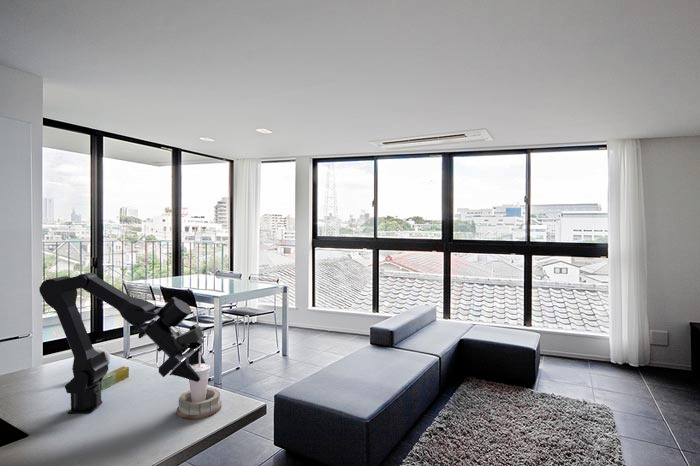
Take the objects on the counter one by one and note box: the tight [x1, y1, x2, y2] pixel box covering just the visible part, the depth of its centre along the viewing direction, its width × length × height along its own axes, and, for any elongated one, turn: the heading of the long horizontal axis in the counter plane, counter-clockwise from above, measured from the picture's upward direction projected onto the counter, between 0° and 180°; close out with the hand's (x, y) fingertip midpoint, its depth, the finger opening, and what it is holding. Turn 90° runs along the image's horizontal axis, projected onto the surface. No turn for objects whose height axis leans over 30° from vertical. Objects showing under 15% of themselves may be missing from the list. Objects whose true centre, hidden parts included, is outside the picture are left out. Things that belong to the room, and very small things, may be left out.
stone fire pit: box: [176, 387, 222, 421], centre depth 115 cm, size 12×12×4 cm
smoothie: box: [188, 351, 211, 402], centre depth 115 cm, size 6×6×14 cm
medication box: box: [98, 365, 130, 392], centre depth 133 cm, size 12×3×4 cm, turn 166°
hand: (203, 376), depth 115 cm, fingers closed on smoothie, 6 cm apart
